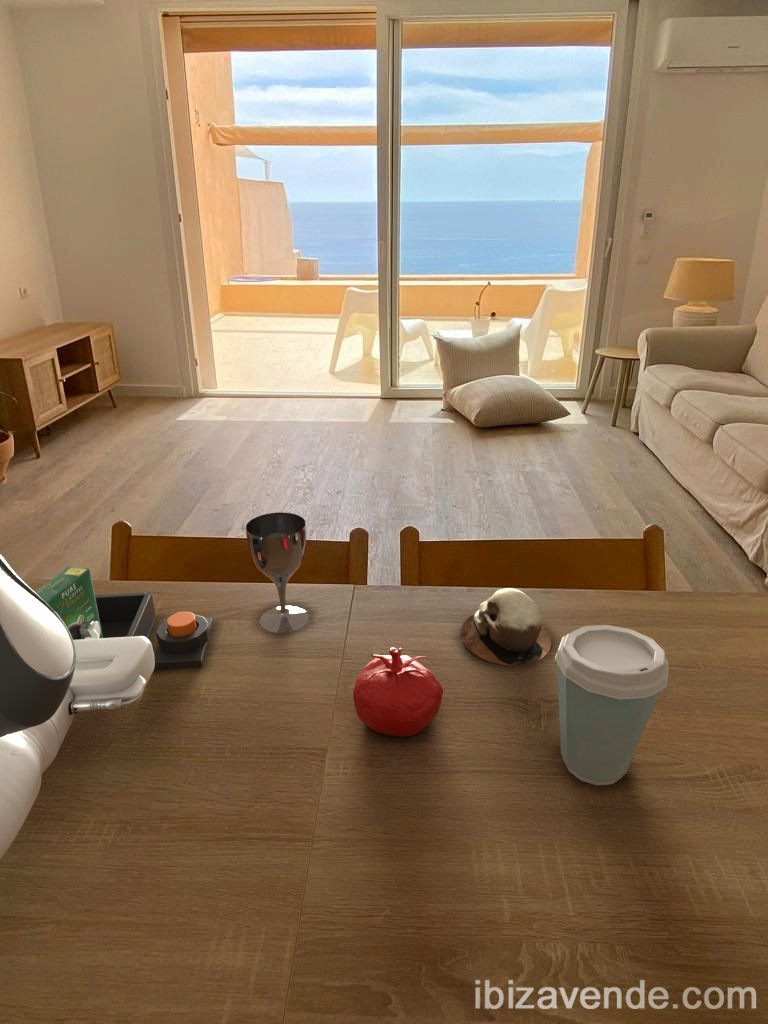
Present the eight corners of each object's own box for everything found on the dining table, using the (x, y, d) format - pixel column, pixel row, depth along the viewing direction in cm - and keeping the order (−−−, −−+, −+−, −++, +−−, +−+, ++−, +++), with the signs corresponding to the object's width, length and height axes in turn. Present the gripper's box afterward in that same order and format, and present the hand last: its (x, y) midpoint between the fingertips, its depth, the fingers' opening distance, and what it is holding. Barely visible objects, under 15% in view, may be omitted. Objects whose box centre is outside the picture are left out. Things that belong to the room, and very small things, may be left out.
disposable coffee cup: (525, 742, 76) (535, 627, 70) (606, 717, 79) (623, 605, 73) (583, 816, 67) (601, 690, 60) (673, 784, 70) (698, 662, 64)
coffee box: (89, 662, 81) (67, 562, 75) (111, 665, 80) (91, 565, 75) (44, 707, 73) (17, 601, 68) (68, 711, 73) (43, 604, 67)
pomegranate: (413, 762, 73) (413, 691, 70) (337, 727, 78) (333, 660, 75) (457, 708, 81) (459, 642, 77) (384, 680, 86) (383, 616, 82)
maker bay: (54, 686, 86) (46, 654, 84) (87, 624, 98) (81, 595, 96) (133, 680, 87) (127, 649, 85) (156, 620, 99) (151, 591, 97)
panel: (152, 670, 88) (148, 651, 87) (168, 626, 98) (165, 608, 96) (204, 667, 89) (201, 648, 88) (215, 624, 98) (212, 605, 97)
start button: (166, 638, 90) (164, 627, 90) (171, 623, 94) (169, 612, 93) (194, 636, 91) (192, 625, 90) (198, 621, 94) (196, 610, 93)
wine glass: (244, 620, 99) (233, 525, 92) (289, 598, 104) (281, 507, 98) (279, 642, 94) (269, 543, 87) (323, 619, 99) (318, 524, 92)
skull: (437, 622, 95) (481, 562, 95) (483, 650, 101) (525, 593, 101) (485, 668, 85) (534, 601, 85) (533, 696, 91) (580, 633, 91)
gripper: (132, 679, 61) (163, 597, 74) (-110, 693, 60) (-36, 608, 72) (142, 734, 64) (171, 646, 77) (-89, 749, 63) (-21, 657, 75)
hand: (69, 628), depth 75 cm, fingers closed on coffee box, 3 cm apart
